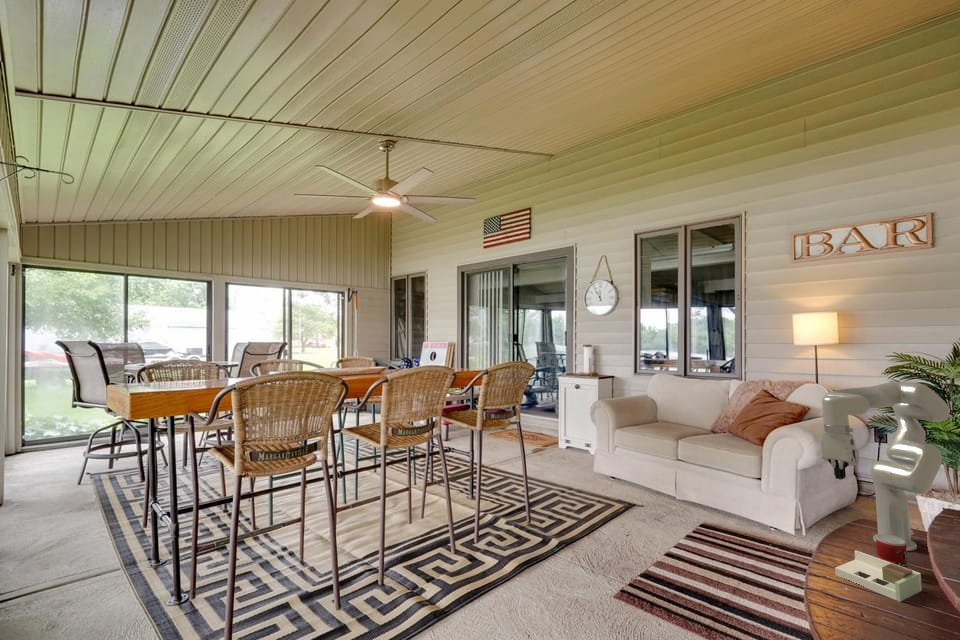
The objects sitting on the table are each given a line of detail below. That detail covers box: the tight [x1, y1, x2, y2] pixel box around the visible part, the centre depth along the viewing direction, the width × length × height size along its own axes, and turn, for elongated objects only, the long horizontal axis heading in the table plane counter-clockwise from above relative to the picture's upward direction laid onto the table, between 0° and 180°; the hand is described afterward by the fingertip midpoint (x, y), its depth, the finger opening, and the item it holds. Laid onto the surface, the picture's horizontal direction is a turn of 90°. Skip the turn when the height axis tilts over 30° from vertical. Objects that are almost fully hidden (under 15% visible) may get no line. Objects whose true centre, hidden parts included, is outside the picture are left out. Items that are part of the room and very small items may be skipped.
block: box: [882, 563, 912, 584], centre depth 149 cm, size 6×6×4 cm
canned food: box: [875, 534, 909, 569], centre depth 161 cm, size 8×8×11 cm
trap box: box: [834, 550, 923, 603], centre depth 154 cm, size 13×18×6 cm
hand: (840, 478), depth 173 cm, fingers closed
